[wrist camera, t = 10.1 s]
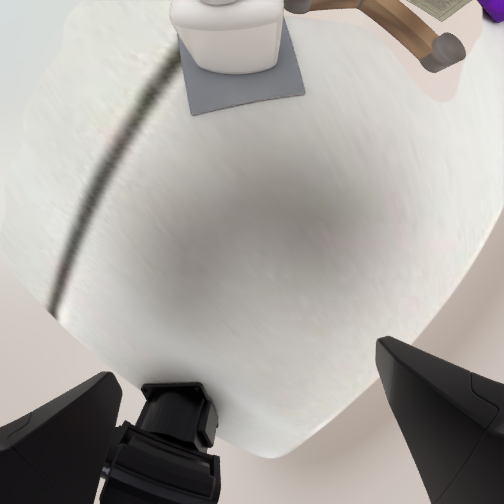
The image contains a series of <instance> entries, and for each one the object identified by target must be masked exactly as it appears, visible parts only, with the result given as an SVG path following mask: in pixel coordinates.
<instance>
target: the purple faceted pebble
mask: <svg viewBox="0 0 504 504" xmlns="http://www.w3.org/2000/svg"><path fill="white" fill-rule="evenodd" d="M477 1H478V2H479V3H480V5H481V6H482V7H483V8H484V10H485V11H486V12H487V13H488V14H489V15H490V16H491V17H492V19H493V20H494V21H496V22H498V23H499V22H502V21H504V0H477Z"/></svg>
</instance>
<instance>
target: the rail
mask: <svg viewBox="0 0 504 504" xmlns="http://www.w3.org/2000/svg"><path fill="white" fill-rule="evenodd" d="M284 8H285V9H286V10H287V11H289V12H291V13H294V14H304V13H307V12H309V11H315V10H328V9H344V8H345V9H346V8H357V9H359V10H361V11H363V12H364V13H365V14H366V15H368V16H369V17H370V18H372V19H373V20H374V21H375V22H377V23H378V24H379V25H380V26H382V27H383V28H384V29H385V30H386V31H388V32H389V33H390V34H391V35H392V36H393V37H395V38H396V39H397V40H398V41H399V42H400V43H401V44H402V45H404V46H405V47H406V48H407V49H408V50H409V51H410V52H411V53H412V54H413V55H414V56H415V57H416V58H417V59H418V60H419V61H420V63H421V64H422V66H423V67H424V68H425V69H426V70H428V71H430V72H432V73H436V72H438V71H440V70H442V69H444V68H447V67H449V66H451V65H453V64H455V63H457V62H459V61H461V60H463V59H464V58H465V56H466V52H465V49H464V46H463V44H462V43H461V41H460V40H459V39H458V38H457V37H456V36H454V35H453V34H451V33H444V34H442V35H441V36H438V35H437V34H436V33H435V32H434V31H433V30H432V29H431V28H430V27H429V26H428V25H427V24H425V23H424V22H423V21H422V20H421V19H420V18H419V17H418V16H417V15H416V14H414V13H413V12H412V11H411V10H410V9H409V8H408V7H406V6H405V5H404V4H403V3H401V2H400V1H399V0H284Z"/></svg>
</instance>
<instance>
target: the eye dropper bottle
mask: <svg viewBox="0 0 504 504" xmlns="http://www.w3.org/2000/svg"><path fill="white" fill-rule="evenodd" d="M283 12H284V0H172V1H171V5H170V12H169V17H170V20H171V23H172V25H173V27H174V28H175V30H176V32H177V33H178V35H179V37H180V38H181V40H182V41H183V43H184V45H185V46H186V48H187V49H188V51H189V53H190V54H191V56H192V58H193V59H194V61H195V62H196V64H197V65H198V66H199V67H200V68H203V69H205V70H208V71H212V72H216V73H222V74H235V75H236V74H250V73H256V72H260V71H264V70H267V69H270V68H272V67H273V66H275V65H276V63H277V60H278V53H279V46H280V39H281V31H282V23H283Z"/></svg>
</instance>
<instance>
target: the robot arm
mask: <svg viewBox="0 0 504 504" xmlns="http://www.w3.org/2000/svg"><path fill="white" fill-rule="evenodd" d="M375 360H376V366H377V369H378V372H379V375H380V378H381V381H382V384H383V387H384V390H385V393H386V396H387V399H388V402H389V405H390V407H391V409H392V411H393V413H394V416H395V418H396V420H397V422H398V425H399V427H400V429H401V431H402V433H403V436H404V438H405V440H406V442H407V445H408V447H409V449H410V452H411V454H412V456H413V459H414V461H415V464H416V466H417V468H418V471H419V473H420V476H421V478H422V481H423V483H424V486H425V488H426V491H427V493H428V496H429V499H430V501H431V504H504V384H502V383H499V382H496V381H493V380H491V379H488V378H486V377H483V376H480V375H478V374H476V373H473V372H471V373H470V371H468V370H466V369H464V368H461V367H459V366H456V365H454V364H452V363H450V362H447V361H445V360H443V359H440V358H438V357H436V356H434V355H431V354H429V353H427V352H424V351H422V350H420V349H418V348H416V347H413V346H411V345H409V344H406V343H404V342H402V341H400V340H398V339H395V338H393V337H391V336H385V337H382V338H378V339H377V341H376V358H375ZM196 387H198V388H196ZM146 389H147V390H146ZM141 391H142V393H143V395H144V396H145V398H146V400H147V401H146V403H145V405H144V407H143V409H142V411H141V414H140V416H139V418H138V420H137V422H136V425H135V426H134V425H132V424H131V423H130V422H128V421H126V420H125V421H124V423H123V424H122V426H119V427H115V426H116V421H117V417H118V412H119V407H120V403H121V398H122V389H121V387H120V385H119V383H118V381H117V379H116V377H115V376H114V374H113V373H112V372H105V371H103V372H100V373H98V374H97V375H95V376H93V377H92V378H90V379H88V380H87V381H85V382H83V383H81V384H80V385H78V386H76V387H74V388H73V389H71V390H69V391H67V392H66V393H64V394H62V395H60V396H59V397H57V398H55V399H53V400H52V401H50V402H48V403H46V404H45V405H43V406H41V407H39V408H38V409H36V410H34V411H33V412H30V413H28V414H27V415H25V416H23V417H21V418H19V419H17V420H15V421H13V422H11V423H9V424H7V425H4V426H2V427H0V504H94V500H95V496H96V492H97V488H98V484H99V480H100V477H101V478H103V479H105V480H106V481H105V483H104V486H103V489H102V492H101V494H100V498H99V500H100V504H217V503H218V500H219V495H220V490H221V478H220V457H219V456H216V455H210V454H207V448H211V447H212V446H213V444H214V439H215V433H216V428H218V416H217V414H216V411H215V409H214V407H213V404H212V402H211V401H210V400H208V397H207V395H206V393H205V390H204V388H203V386H202V384H200V383H181V384H144V385H142V387H141Z"/></svg>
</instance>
